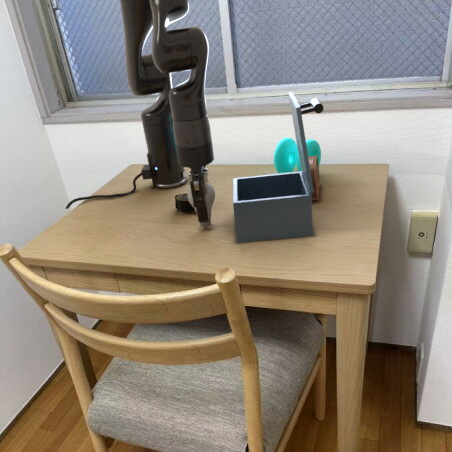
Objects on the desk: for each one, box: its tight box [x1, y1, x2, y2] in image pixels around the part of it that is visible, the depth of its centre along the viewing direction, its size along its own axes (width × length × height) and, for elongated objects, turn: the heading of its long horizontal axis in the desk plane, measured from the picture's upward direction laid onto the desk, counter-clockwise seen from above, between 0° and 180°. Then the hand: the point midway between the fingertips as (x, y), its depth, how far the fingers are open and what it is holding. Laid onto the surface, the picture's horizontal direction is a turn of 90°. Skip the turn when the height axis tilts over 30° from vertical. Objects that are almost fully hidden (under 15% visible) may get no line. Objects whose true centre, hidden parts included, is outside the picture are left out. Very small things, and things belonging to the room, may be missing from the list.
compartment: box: [232, 171, 313, 243], centre depth 104 cm, size 16×15×9 cm
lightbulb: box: [187, 182, 216, 229], centre depth 105 cm, size 6×6×11 cm
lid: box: [287, 91, 325, 193], centre depth 96 cm, size 17×15×5 cm
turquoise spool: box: [273, 136, 322, 174], centre depth 127 cm, size 10×10×10 cm
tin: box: [308, 155, 321, 201], centre depth 116 cm, size 15×3×8 cm, turn 168°
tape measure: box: [174, 192, 196, 214], centre depth 117 cm, size 7×7×4 cm
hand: (204, 215), depth 107 cm, fingers closed on lightbulb, 6 cm apart
